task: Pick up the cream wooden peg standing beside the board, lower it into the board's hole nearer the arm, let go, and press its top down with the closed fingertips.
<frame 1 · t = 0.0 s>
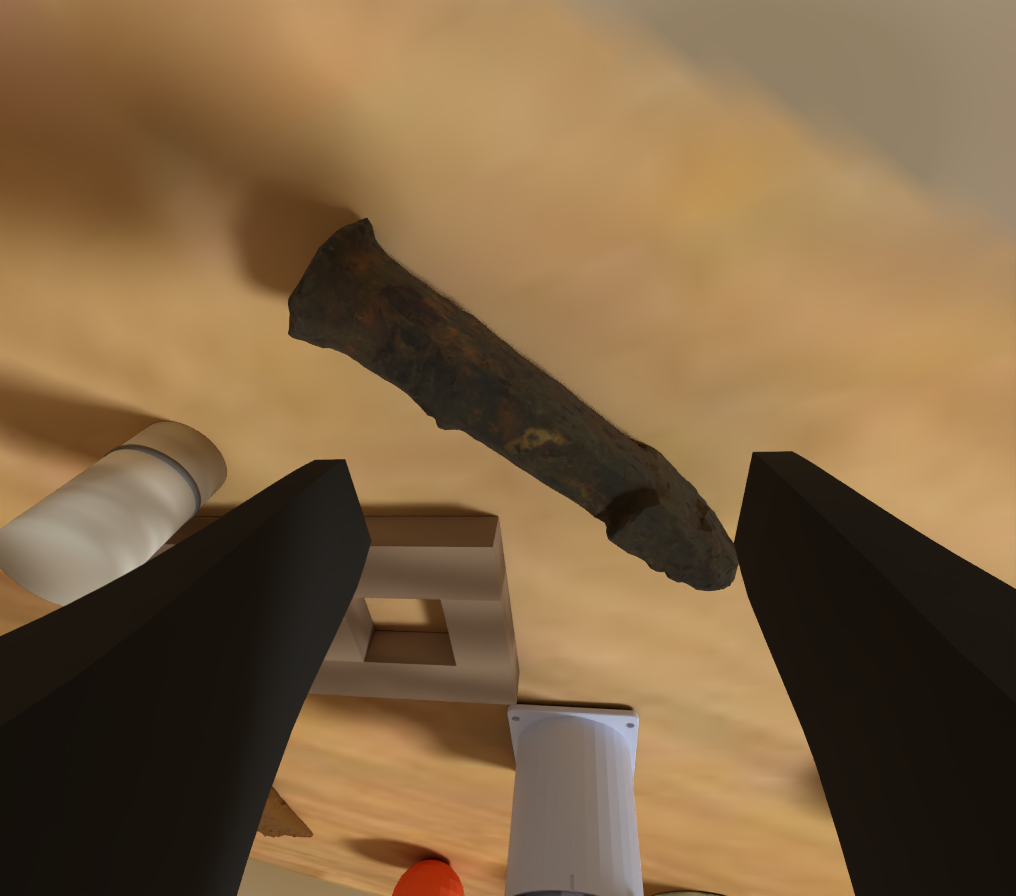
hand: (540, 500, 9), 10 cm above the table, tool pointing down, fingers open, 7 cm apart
primitive tool: (268, 781, 43), on the table
peg: (184, 458, 23), on the table
board: (332, 599, 27), on the table
red tomato: (432, 857, 47), on the table
hand tool: (560, 394, 19), on the table
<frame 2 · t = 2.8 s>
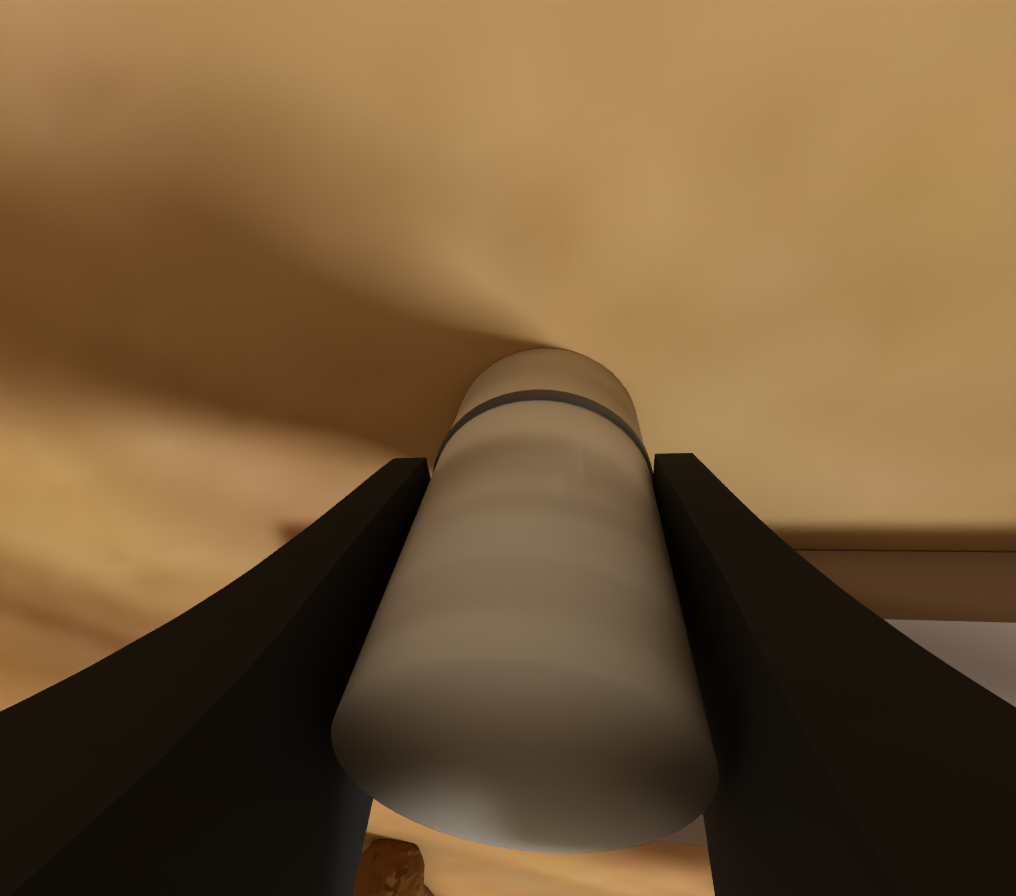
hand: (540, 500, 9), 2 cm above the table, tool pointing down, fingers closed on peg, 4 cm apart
primitive tool: (427, 892, 31), on the table
peg: (546, 433, 11), on the table, touching gripper
board: (704, 689, 15), on the table
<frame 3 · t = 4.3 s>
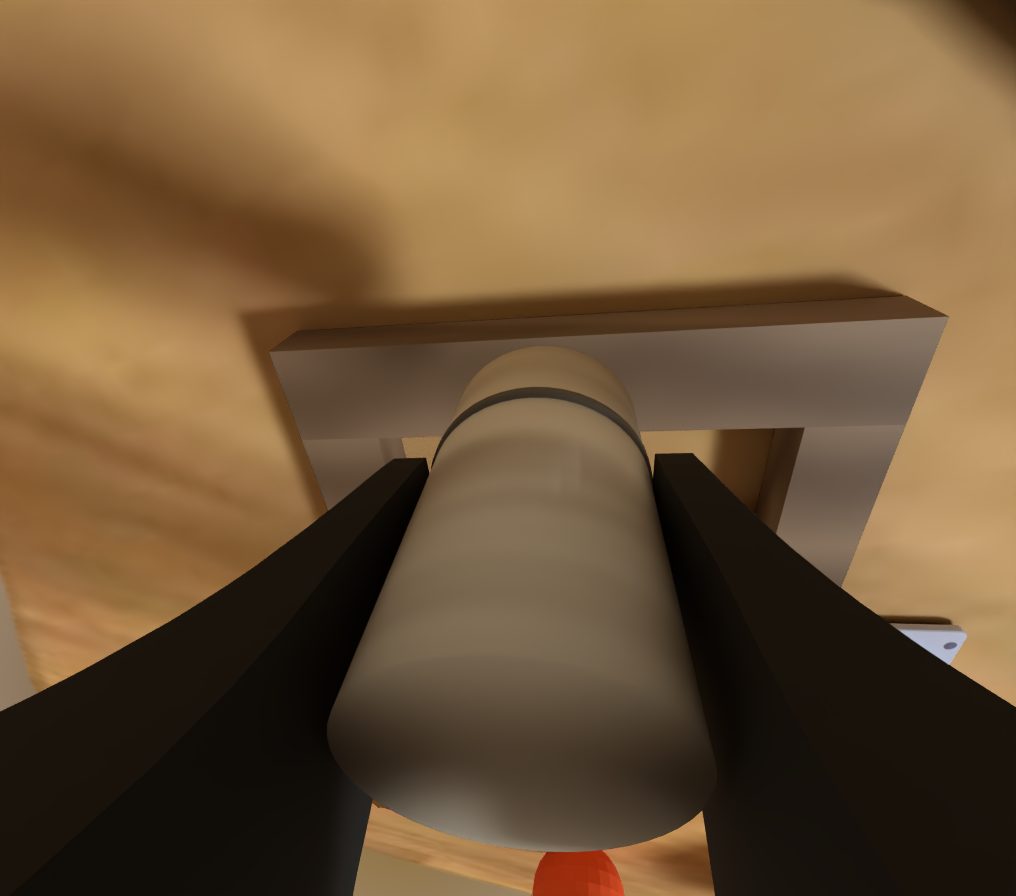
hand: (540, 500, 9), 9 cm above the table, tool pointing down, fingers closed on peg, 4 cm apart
peg: (544, 431, 11), point 7 cm above the table, touching gripper
board: (578, 462, 19), on the table
red tomato: (572, 836, 40), on the table
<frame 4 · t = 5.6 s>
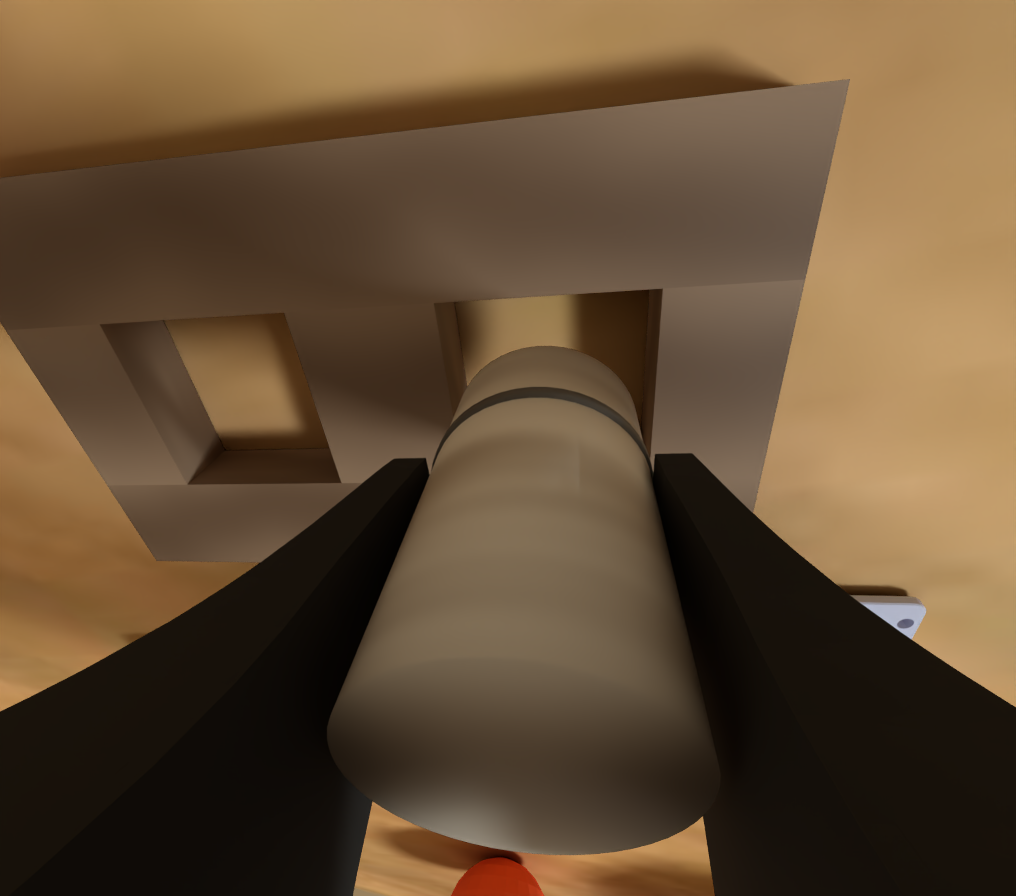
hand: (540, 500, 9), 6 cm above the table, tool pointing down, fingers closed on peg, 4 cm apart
peg: (545, 431, 11), point 4 cm above the table, touching gripper
board: (403, 373, 15), on the table
red tomato: (497, 854, 35), on the table
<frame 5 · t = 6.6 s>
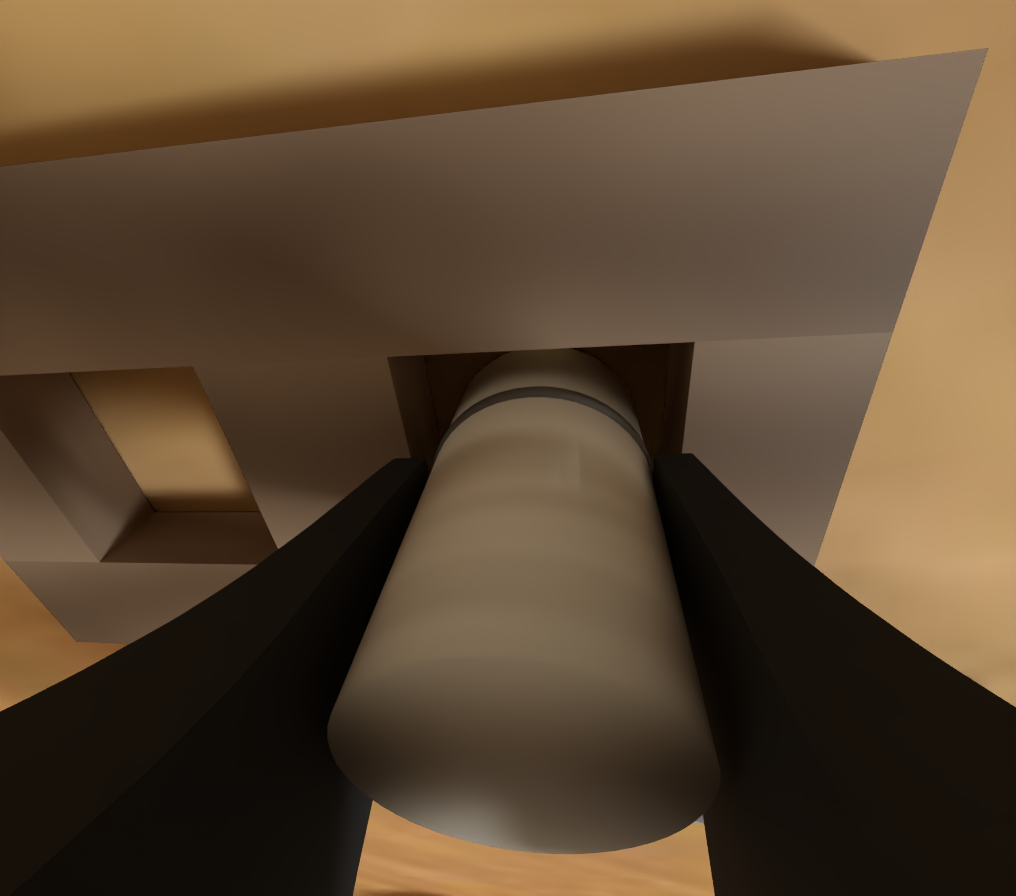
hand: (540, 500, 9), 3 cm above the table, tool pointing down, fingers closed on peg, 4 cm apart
peg: (545, 430, 11), resting in board, touching gripper
board: (362, 429, 12), on the table
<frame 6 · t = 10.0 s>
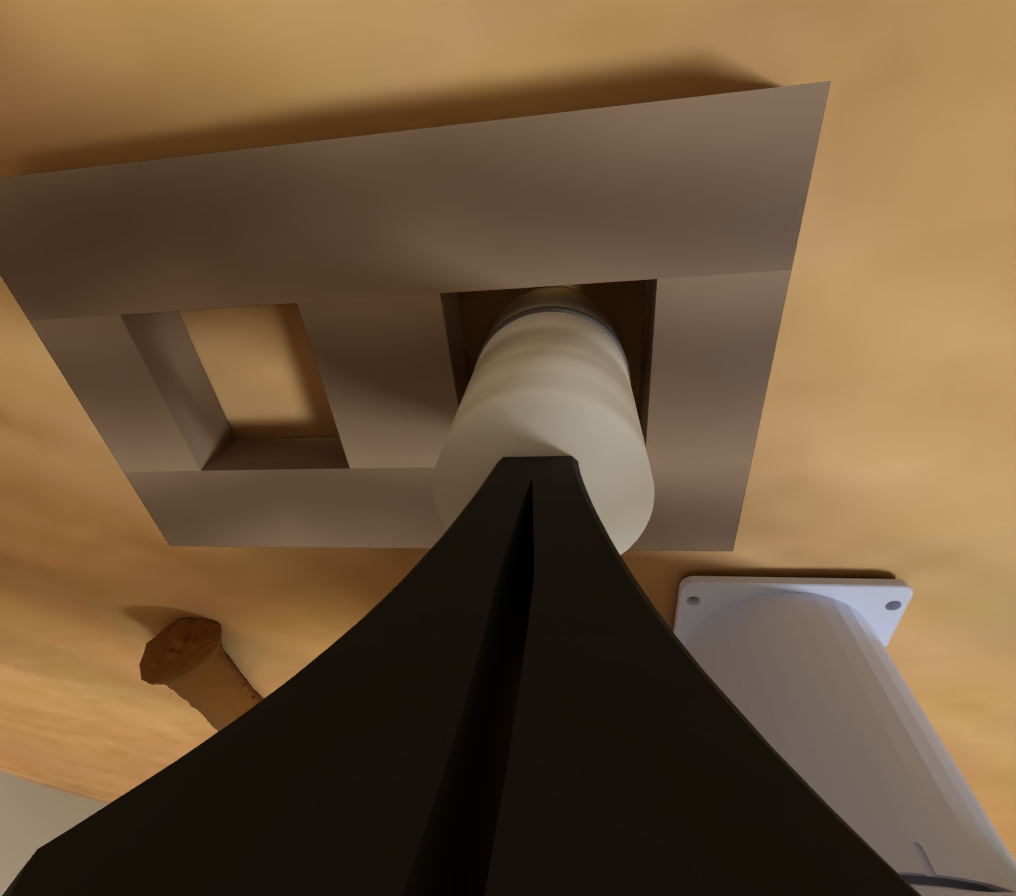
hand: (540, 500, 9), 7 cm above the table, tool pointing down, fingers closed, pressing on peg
primitive tool: (275, 713, 30), on the table
peg: (552, 354, 15), resting in board, touching gripper
board: (409, 363, 15), on the table
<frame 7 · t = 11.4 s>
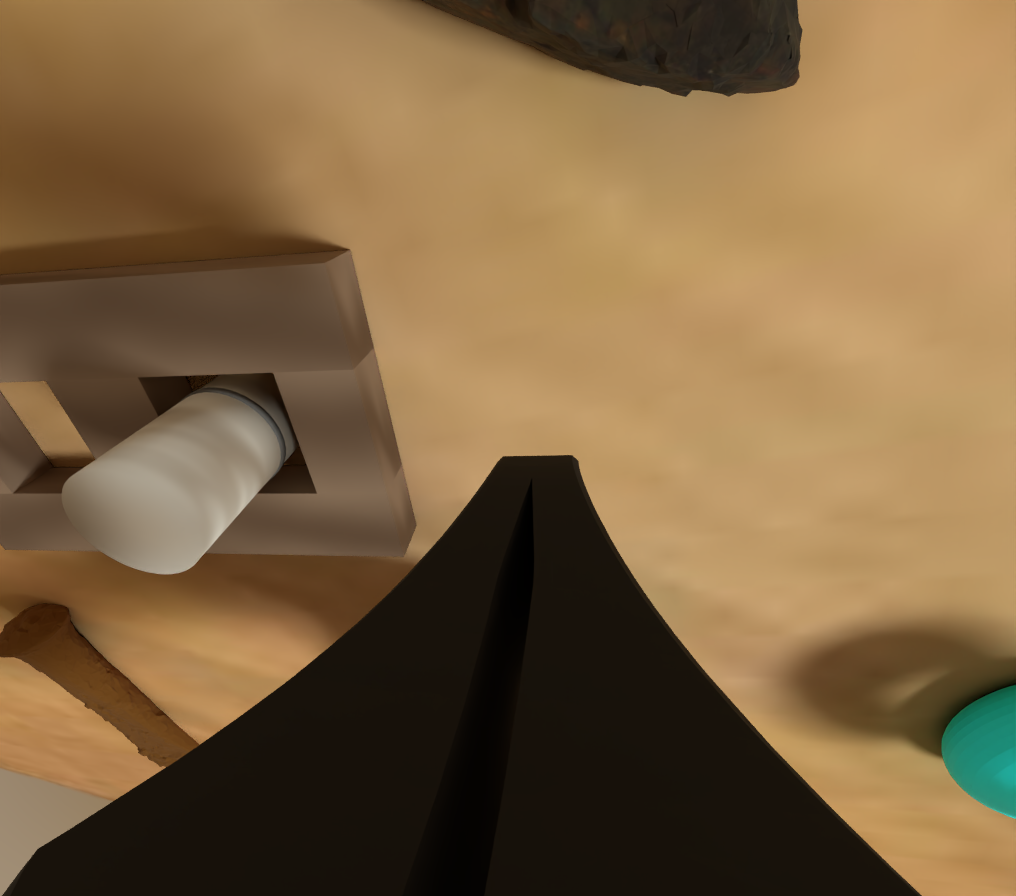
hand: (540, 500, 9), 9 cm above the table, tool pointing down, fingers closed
primitive tool: (141, 688, 35), on the table
peg: (260, 411, 20), resting in board
board: (162, 415, 21), on the table
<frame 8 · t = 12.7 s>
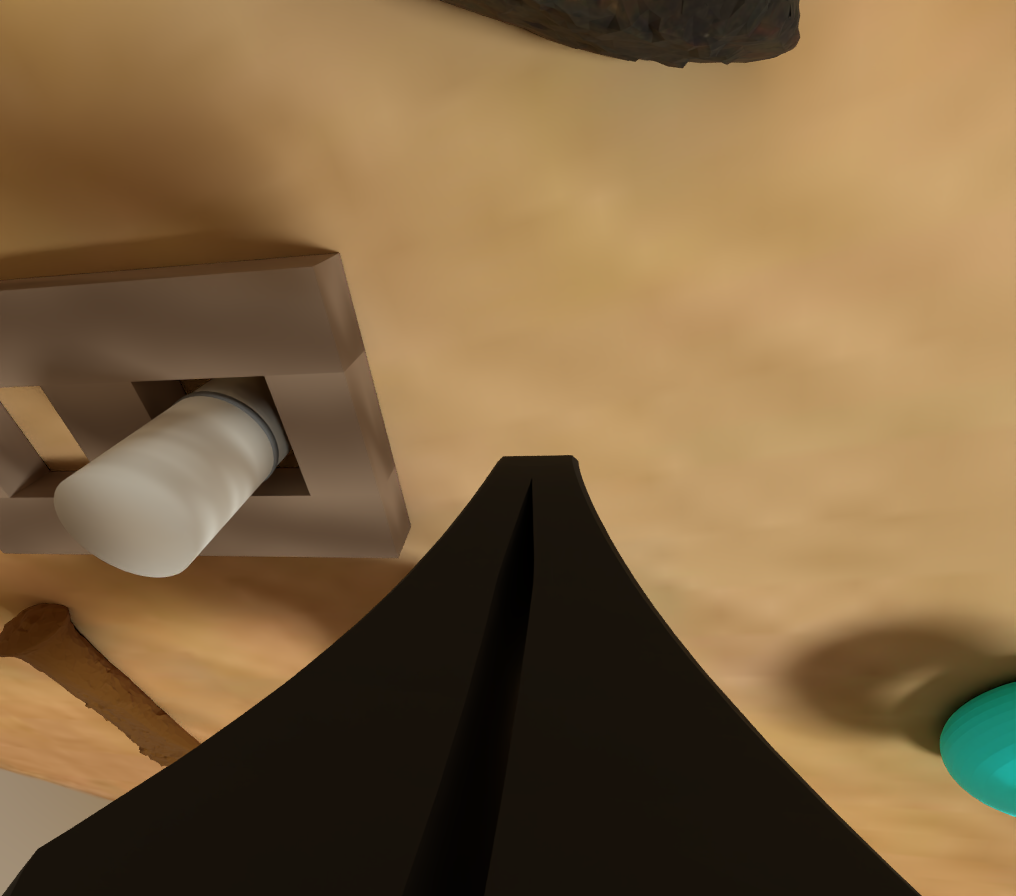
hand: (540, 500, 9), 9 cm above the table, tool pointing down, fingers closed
primitive tool: (142, 688, 35), on the table
peg: (254, 414, 20), resting in board
board: (157, 419, 21), on the table
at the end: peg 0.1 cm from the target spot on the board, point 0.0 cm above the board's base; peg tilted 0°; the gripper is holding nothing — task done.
